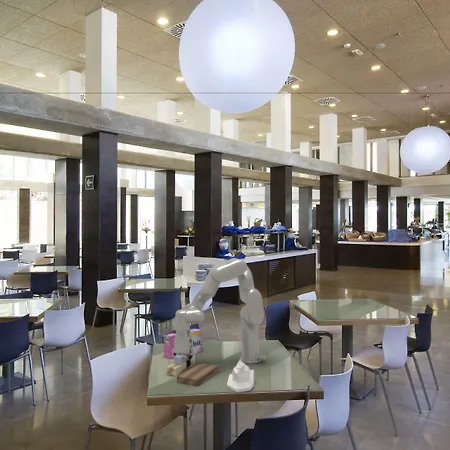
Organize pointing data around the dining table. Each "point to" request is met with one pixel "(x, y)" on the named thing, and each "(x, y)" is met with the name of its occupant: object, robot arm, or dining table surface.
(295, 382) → the dining table surface
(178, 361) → the block
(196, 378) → the dock
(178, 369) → the beige rectangular bar
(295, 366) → the dining table surface
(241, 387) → the white faceted mound
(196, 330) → the gum box
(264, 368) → the dining table surface
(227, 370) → the dining table surface
